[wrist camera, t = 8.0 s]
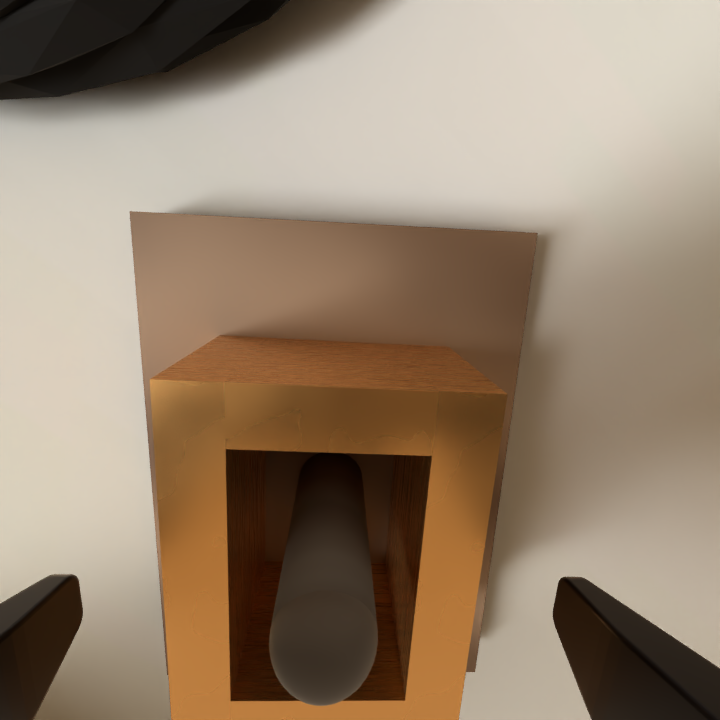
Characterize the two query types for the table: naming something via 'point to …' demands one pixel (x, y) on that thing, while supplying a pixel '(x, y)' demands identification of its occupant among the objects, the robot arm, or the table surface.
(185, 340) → the plate
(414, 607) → the hollow wooden frame
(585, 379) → the table surface
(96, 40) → the cable lock
